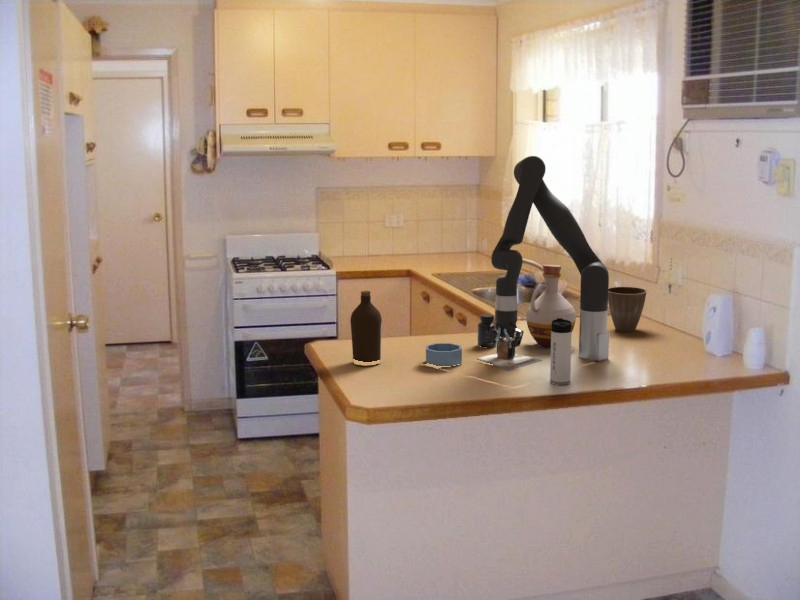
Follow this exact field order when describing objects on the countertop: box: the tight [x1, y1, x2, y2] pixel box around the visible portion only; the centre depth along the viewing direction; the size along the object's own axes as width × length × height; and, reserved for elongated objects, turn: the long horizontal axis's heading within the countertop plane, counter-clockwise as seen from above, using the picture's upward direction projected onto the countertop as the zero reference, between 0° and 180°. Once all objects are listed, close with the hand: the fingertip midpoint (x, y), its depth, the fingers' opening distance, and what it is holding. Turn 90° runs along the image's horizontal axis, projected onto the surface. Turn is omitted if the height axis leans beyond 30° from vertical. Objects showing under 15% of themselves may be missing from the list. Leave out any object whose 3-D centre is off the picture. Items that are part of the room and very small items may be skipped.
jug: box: [525, 264, 577, 349], centre depth 327 cm, size 20×18×30 cm
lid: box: [476, 338, 536, 368], centre depth 308 cm, size 14×14×7 cm
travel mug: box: [549, 318, 573, 386], centre depth 282 cm, size 6×7×20 cm
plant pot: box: [608, 286, 647, 333], centre depth 352 cm, size 15×15×16 cm
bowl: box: [425, 342, 463, 366], centre depth 306 cm, size 12×12×6 cm
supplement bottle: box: [477, 313, 497, 349], centre depth 328 cm, size 7×7×12 cm
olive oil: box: [350, 290, 383, 362], centre depth 307 cm, size 11×11×25 cm
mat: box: [493, 358, 544, 371], centre depth 309 cm, size 18×18×1 cm
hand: (505, 356), depth 308 cm, fingers open, 4 cm apart
